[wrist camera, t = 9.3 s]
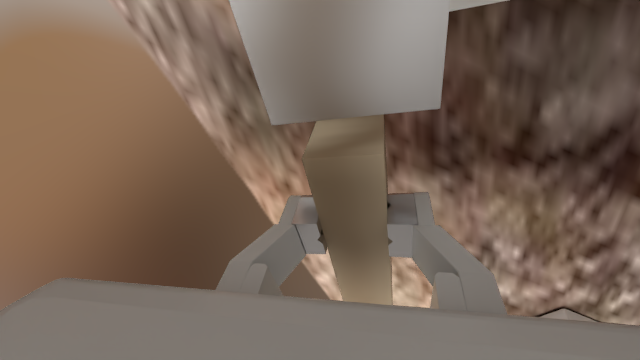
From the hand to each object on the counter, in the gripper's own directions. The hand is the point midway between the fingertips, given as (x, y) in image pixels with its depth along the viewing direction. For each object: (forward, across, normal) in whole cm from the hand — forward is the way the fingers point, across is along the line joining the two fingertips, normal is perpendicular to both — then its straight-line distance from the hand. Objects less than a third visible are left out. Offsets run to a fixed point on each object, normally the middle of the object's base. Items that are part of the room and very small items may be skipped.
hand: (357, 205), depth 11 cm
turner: (+2, 0, -2) cm, 2 cm away
